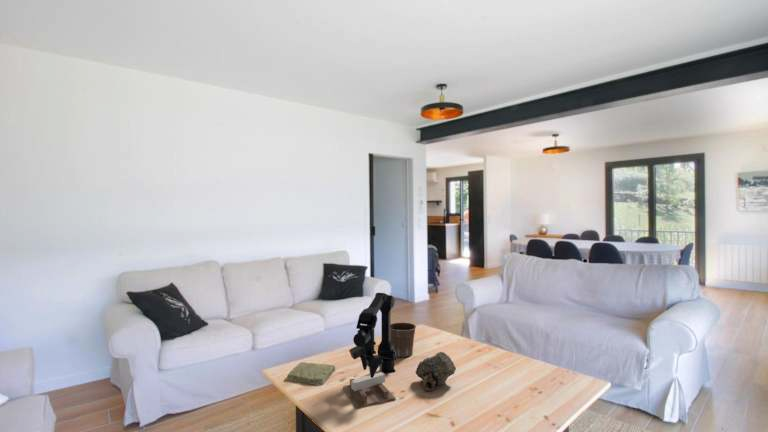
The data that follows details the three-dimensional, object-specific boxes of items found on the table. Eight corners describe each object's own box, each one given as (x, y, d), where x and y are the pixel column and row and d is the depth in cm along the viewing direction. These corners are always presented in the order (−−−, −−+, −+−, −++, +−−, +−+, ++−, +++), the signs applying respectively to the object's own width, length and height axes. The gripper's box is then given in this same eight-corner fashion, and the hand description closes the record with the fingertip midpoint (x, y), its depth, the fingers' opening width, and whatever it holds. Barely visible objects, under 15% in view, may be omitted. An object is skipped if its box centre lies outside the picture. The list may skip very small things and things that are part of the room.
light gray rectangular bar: (381, 379, 182) (381, 372, 182) (385, 382, 180) (384, 374, 180) (351, 388, 174) (351, 380, 174) (354, 391, 171) (354, 383, 171)
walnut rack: (378, 381, 189) (378, 373, 189) (395, 399, 171) (395, 391, 171) (343, 388, 183) (343, 379, 182) (356, 408, 164) (356, 399, 164)
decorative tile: (300, 367, 208) (300, 360, 208) (335, 370, 204) (335, 363, 204) (284, 382, 190) (284, 375, 190) (323, 386, 186) (322, 379, 185)
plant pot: (390, 348, 235) (389, 321, 234) (416, 349, 232) (416, 322, 232) (386, 358, 218) (386, 330, 218) (415, 359, 216) (415, 331, 216)
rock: (441, 343, 193) (436, 349, 179) (460, 368, 188) (457, 375, 174) (413, 366, 195) (406, 373, 181) (432, 391, 191) (426, 400, 176)
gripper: (345, 335, 182) (345, 368, 182) (358, 348, 164) (358, 385, 165) (367, 332, 186) (367, 364, 186) (382, 345, 169) (382, 380, 169)
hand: (368, 373), depth 176 cm, fingers open, 9 cm apart
